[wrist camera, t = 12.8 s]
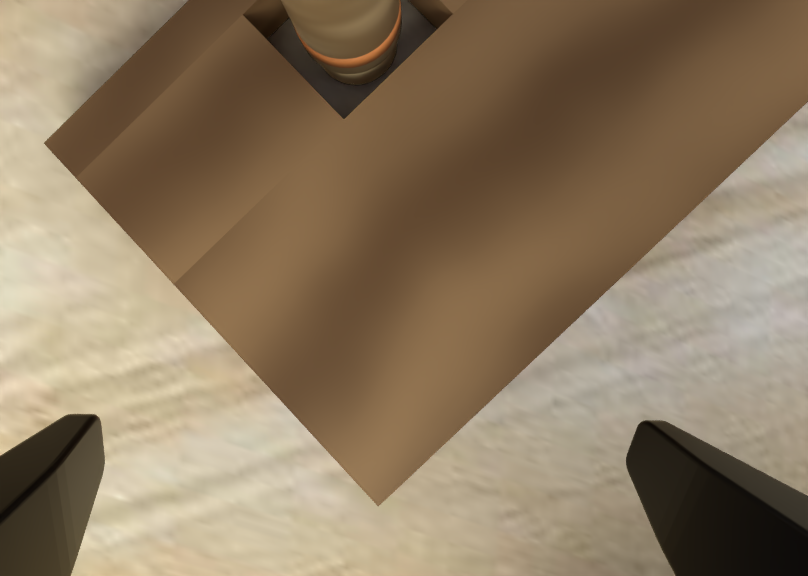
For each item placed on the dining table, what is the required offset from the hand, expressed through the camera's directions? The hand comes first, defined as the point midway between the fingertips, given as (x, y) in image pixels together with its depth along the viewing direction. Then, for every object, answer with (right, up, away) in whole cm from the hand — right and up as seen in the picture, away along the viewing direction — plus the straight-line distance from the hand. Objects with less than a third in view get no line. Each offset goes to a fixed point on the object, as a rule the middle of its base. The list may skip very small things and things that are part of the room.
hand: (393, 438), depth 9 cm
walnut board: (+2, +9, +10) cm, 14 cm away
